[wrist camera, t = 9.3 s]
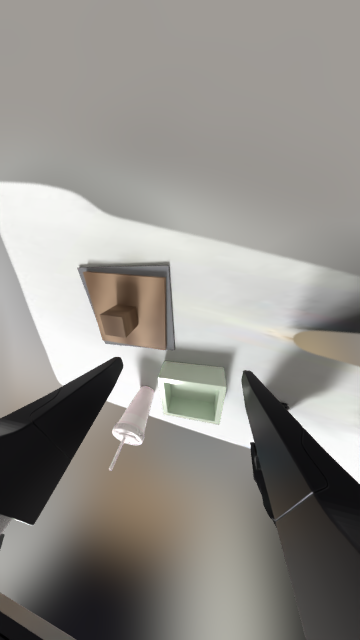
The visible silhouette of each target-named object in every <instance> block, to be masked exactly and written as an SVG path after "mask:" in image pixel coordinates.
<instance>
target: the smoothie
mask: <svg viewBox="0 0 360 640" xmlns="http://www.w3.org/2000/svg"><path fill="white" fill-rule="evenodd" d="M153 395H154V390H153V389H152V388H150V387H148V386H142V387H141V388H140V389H139V391H138V392H137V394H136V396H135V397H134V399H133V400H132V402H131V403H130V405H129V406H128V408H127V409H126V411H125V413H124V414H123V416H122V417H121V419H120V420H119V422H118V423H116V424H115V425H114V428H113V430H112V433H113V435H114V436H115V437H116V438H117V439H119V440H120V441H121V443H120V445H119V448H118V450H117V452H116V454H115V457H114V459H113V461H112V463H111V465H110V467H109V470H110V471H112V469H113V466H114V464H115V462H116V460H117V457H118V455H119V453H120V451H121V448H122V446H123V444H124V442H125V443H127V444H130V445H140V444H142V442H143V439H144V437H145V436H144V431H145V427H146V422H147V419H148V415H149V411H150V407H151V403H152V399H153Z"/></svg>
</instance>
